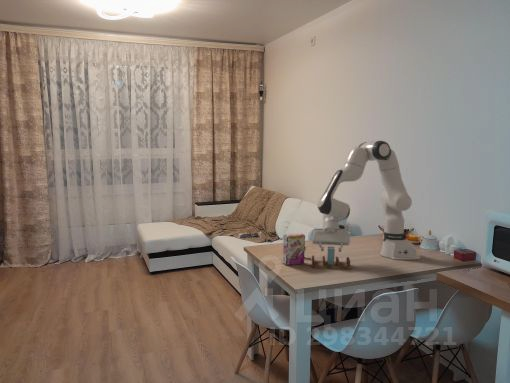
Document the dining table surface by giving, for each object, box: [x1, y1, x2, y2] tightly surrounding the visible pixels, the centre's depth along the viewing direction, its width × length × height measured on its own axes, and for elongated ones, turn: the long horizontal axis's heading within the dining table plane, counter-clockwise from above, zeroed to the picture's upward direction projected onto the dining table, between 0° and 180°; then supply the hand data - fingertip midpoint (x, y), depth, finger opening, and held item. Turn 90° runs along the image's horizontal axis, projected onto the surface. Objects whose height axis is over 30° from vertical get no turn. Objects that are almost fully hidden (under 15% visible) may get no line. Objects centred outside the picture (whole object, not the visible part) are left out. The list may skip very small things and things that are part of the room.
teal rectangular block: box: [326, 246, 336, 265], centre depth 223 cm, size 4×4×9 cm
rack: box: [311, 255, 351, 271], centre depth 224 cm, size 20×10×4 cm, turn 83°
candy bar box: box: [282, 232, 306, 266], centre depth 226 cm, size 11×5×16 cm, turn 111°
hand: (331, 250), depth 222 cm, fingers open, 8 cm apart
